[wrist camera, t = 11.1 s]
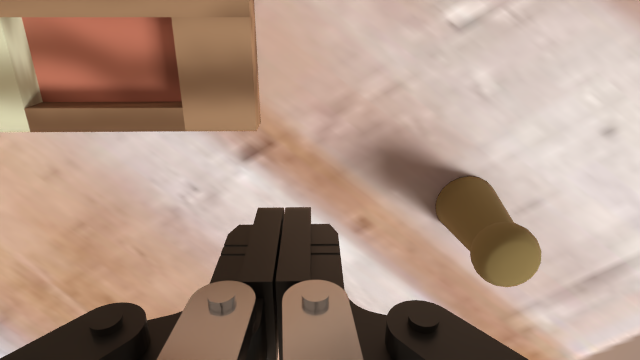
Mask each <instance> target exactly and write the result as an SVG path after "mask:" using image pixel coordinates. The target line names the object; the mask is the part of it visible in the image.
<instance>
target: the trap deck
mask: <svg viewBox="0 0 640 360" xmlns="http://www.w3.org/2000/svg"><path fill="white" fill-rule="evenodd" d="M260 122H261V120H260V102H259V84H258V66H257V48H256V30H255V12H254V0H0V132H133V131H257V129H258V127H259V124H260Z"/></svg>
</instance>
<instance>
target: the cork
mask: <svg viewBox="0 0 640 360" xmlns="http://www.w3.org/2000/svg"><path fill="white" fill-rule="evenodd" d="M436 214H437V216H438V218H439V220H440V221H441V222H442V223H443V224H444V225H445V226H446V227H447V228H448V229H449V231H450V232H451V233H452V234H453V235H454V236H455V237H456V238H457V239H458V240H459V241H460V242H461V243H462V244H463V245H464V246H465V247H466V248H467V249H468V250H469V251H470V256H471V261H472V264H473V266H474V268H475V270H476V272H477V273H478V274H479V275H480V276H481V277H482V278H483V279H484V280H486V281H487V282H489V283H491V284H493V285H496V286H503V287H511V286H517V285H519V284H522V283H524V282H526V281H527V280H529V279H530V278H531V277H532V276H533V275H534V274H535V273H536V271H537V270H538V268H539V265H540V262H541V249H540V246H539V243H538V241H537V239H536V238H535V237H534V236H533V235H532V233H531V232H530V231H529V230H528V229H526V228H524V227H522V226H520V225H518V224H516V223H514V222H513V220H512V219H511V217H510V215H509V214H508V212H507V210H506V209H505V207H504V206H503V204H502V202H501V201H500V199H499V197H498V196H497V194H496V192H495V191H494V189H493V188H492V186H491V185H490V184H489V183H488V182H487V181H485V180H483V179H481V178H479V177H472V176H467V177H461V178H458V179H456V180H454V181H451V182H450V183H449V184H448V185H446V186H445V187H444V188H443V189H442V191H441V192H440V194H439V195H438V198H437V201H436Z"/></svg>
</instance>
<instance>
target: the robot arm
mask: <svg viewBox="0 0 640 360" xmlns="http://www.w3.org/2000/svg"><path fill="white" fill-rule="evenodd" d="M278 348H279V360H528V359H527V358H525V357H523V356H522V355H520V354H518V353H517V352H515V351H513V350H512V349H510V348H509V347H507V346H505V345H504V344H502V343H500V342H499V341H497V340H495V339H494V338H492V337H490V336H489V335H487V334H486V333H484V332H482V331H481V330H479V329H477V328H476V327H474V326H472V325H471V324H469V323H468V322H466V321H464V320H463V319H461V318H459V317H458V316H456V315H454V314H453V313H451V312H449V311H448V310H446V309H445V308H443V307H441V306H439V305H436V304H434V303H430V302H426V301H418V300H412V301H405V302H402V303H399V304H397V305H395V306H394V307H393V308H391V310H390V311H389V313H388V315H383V314H378V313H374V312H370V311H367V310H365V309H362V308H360V307H358V306H357V305H355V304H354V303H353V302H352V301H351V300H350V299H349V298H348V296H347V293H346V292H345V290H344V283H343V274H342V265H341V256H340V248H339V239H338V233H337V232H336V231H335V230H334V228H333V227H332V226H331V225H330V224H311V207H290V208H285V214H284V208H258V210H257V213H256V217H255V220H254V224H253V225H238V226H237V227H236V228H235V229H234V230H233V231H231V232H230V233H229V234H228V236H227V239H226V242H225V244H224V247H223V250H222V252H221V256H220V258H219V260H218V263H217V266H216V268H215V271H214V274H213V276H212V279H211V282H210V284H208V285H206V286H204V287H202V288H200V289H199V290H197V291H196V292H195V293H194V294H193V295H192V296H191V298H190V299H189V301H188V303H187V305H186V306H185V308H184V310H183V311H182V312H179V313H176V314H173V315H169V316H164V317H160V318H156V319H151V320H147V319H146V314H145V312H144V310H143V309H142V308H141V307H140V306H138V305H135V304H132V303H113V304H108V305H104V306H101V307H98V308H96V309H94V310H92V311H89V312H88V313H86V314H84V315H82V316H80V317H78V318H76V319H74V320H72V321H71V322H69V323H67V324H65V325H63V326H61V327H59V328H57V329H55V330H53V331H52V332H50V333H48V334H46V335H44V336H42V337H40V338H38V339H36V340H35V341H33V342H31V343H29V344H27V345H25V346H23V347H21V348H19V349H18V350H16V351H14V352H12V353H10V354H8V355H6V356H4V357H2V358H0V360H277V358H278Z"/></svg>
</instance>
